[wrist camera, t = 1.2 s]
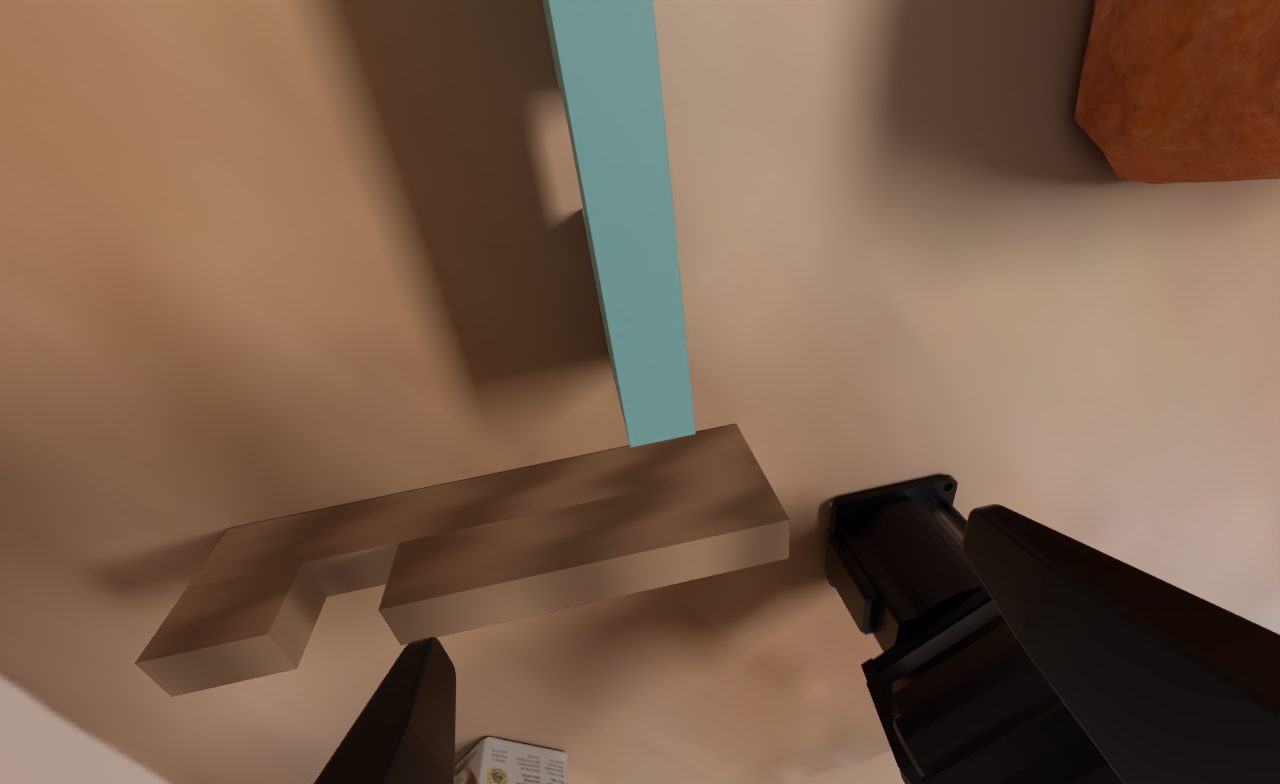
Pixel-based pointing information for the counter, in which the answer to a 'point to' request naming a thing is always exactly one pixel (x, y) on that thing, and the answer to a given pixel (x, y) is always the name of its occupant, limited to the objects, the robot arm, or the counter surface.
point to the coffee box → (511, 764)
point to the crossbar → (627, 203)
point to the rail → (474, 553)
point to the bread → (1184, 89)
